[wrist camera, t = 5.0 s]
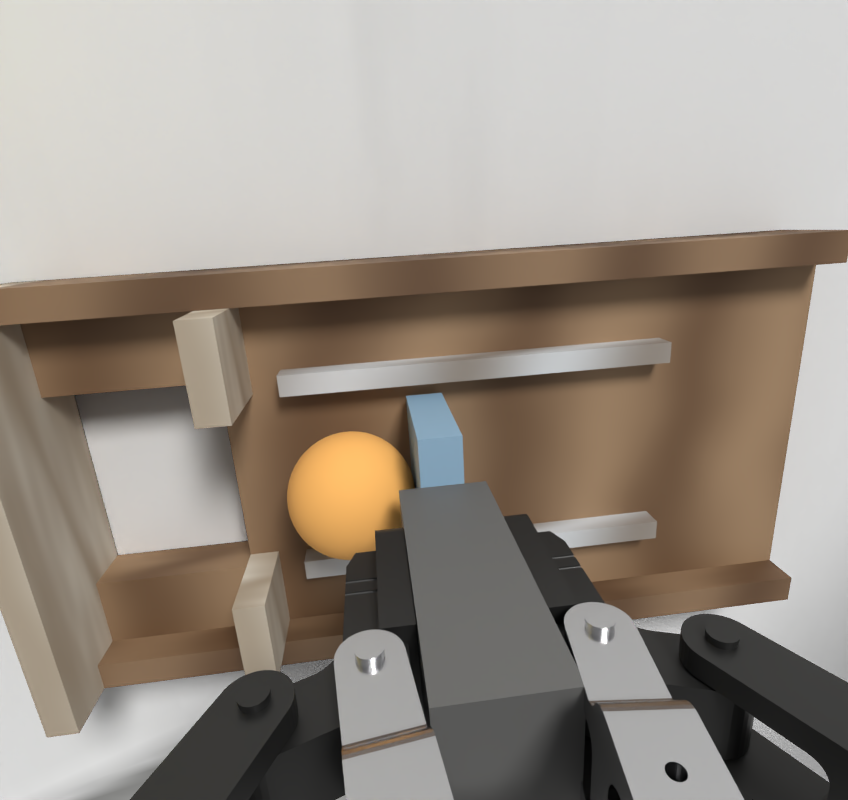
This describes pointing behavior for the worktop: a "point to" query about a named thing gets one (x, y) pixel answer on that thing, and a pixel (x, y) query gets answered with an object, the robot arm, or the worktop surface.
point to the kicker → (484, 632)
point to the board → (401, 433)
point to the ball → (347, 492)
